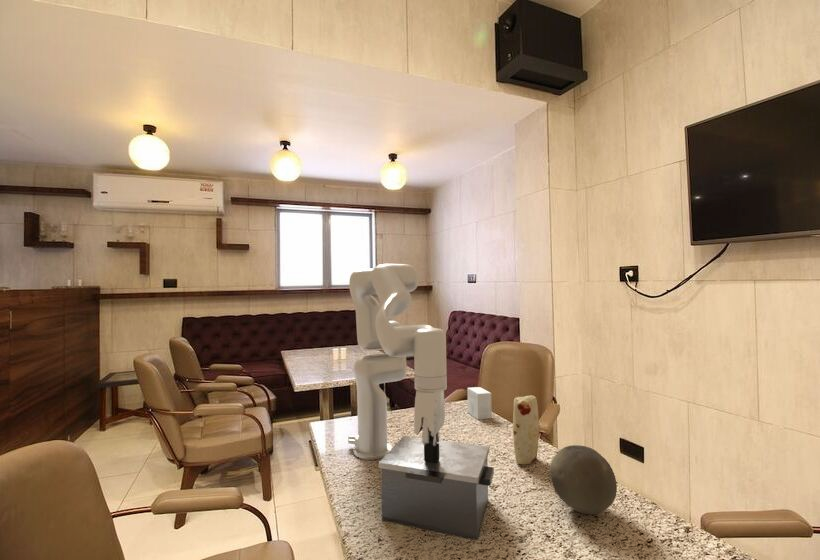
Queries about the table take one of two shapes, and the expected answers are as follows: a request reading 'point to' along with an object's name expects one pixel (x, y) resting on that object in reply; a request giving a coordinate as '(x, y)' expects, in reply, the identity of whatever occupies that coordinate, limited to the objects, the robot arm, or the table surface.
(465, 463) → the lid
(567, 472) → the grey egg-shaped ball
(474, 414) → the skincare box
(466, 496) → the grey lidded box
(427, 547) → the table surface
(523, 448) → the food model
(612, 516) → the table surface
